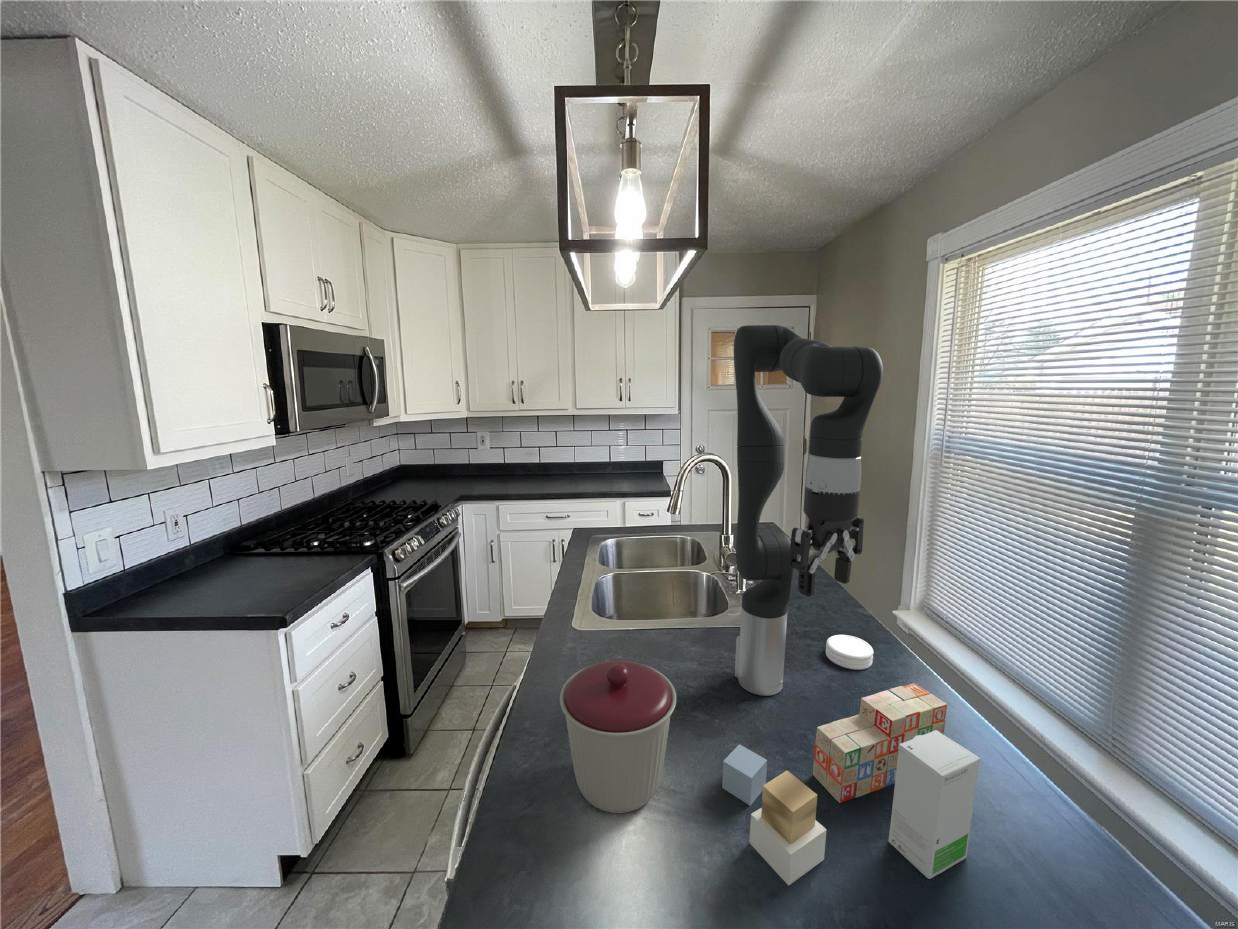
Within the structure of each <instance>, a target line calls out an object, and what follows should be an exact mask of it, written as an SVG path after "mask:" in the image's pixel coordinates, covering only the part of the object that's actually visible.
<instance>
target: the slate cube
mask: <svg viewBox="0 0 1238 929" xmlns="http://www.w3.org/2000/svg"><path fill="white" fill-rule="evenodd" d="M722 762H723V763H722V782H721V783H722V784H721V785H722V787H721V788H722V789H723V790H724V791H727V792H728V793H730V794H731V795H733V796H734V797H735V798H737V799H739V801H740V800H741V801H742V802H743V803H745V804H747V805H748V806H750V807H751V805H752V804H753V803H754V802H755V801H756V800H757V798H758V797H759V796H760V795H761V794H762V793H763V785H765V784H766V783H767V772H768V770H767V769H768V759H766V758H764V757H763V756H761V755H759V753H755V752H754V751H752V750H751V749H748V748H747V747H745V746H743V745H742V744H738V745H737V746H736V747H735V748H734V749H733V750H732V752H730V753H729V754H728V756H726V757H725V758H724V760H723V761H722Z"/></svg>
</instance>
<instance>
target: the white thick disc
mask: <svg viewBox="0 0 1238 929" xmlns="http://www.w3.org/2000/svg"><path fill="white" fill-rule="evenodd" d="M825 645H826V646H825V655H826V657H827V658H828V660H830V661H831V663H834V664H835V665H837V666H839V667H842V668H845V669H848V670H849V669H850V670H861V671H862V670H867V669H868V668H870V667H871V666H872V665H873V662H874V649H873V647H872V645H870V644H869V643H868V642H867V641H865V640H864V639H862V638H859V637H857V636H853V635H848V634H835V635H832V636H830V637H828V638H827V640H826V644H825Z"/></svg>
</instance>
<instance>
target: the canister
mask: <svg viewBox="0 0 1238 929" xmlns="http://www.w3.org/2000/svg"><path fill="white" fill-rule="evenodd" d="M559 705H560V708H561V710H562V713H563V714H564V716H565V720H566V728H567V732H568V733H567V735H568V742H569V747H570V754H571V761H572V766H573V772H574V775H575V781H576V784H577V787H578V789H579V791H580V792H581V794H582V796H583V797H584V799H585V800H586V801H588V803H589V804H590V805H592V806H593V807H594V808H597V809H599V810H600V811H605V812H606V813H612V814H616V813H617V814H622V813H626V814H627V813H629V812H634V811H635V810H638V809H640V808H641V807H644V806H645V805H646V804H647V803H649V801H651V799H652V798H653V797H654V796H655V794H656V792H657V791H658V788H659V785H660V783H661V781H662V775H663V769H664V763H665V757H666V752H667V744H668V735H669V730H670V724H671V723H670V721H671V716H672V714H673V713H674V711H675V709H676V708H675V707H676V705H677V693H676V689H675V687H674V685H673V684H672V682H671V681H670V680H669V679H668V677H667V676H665V675H664V674H663V673H661V672H660V671H658V669H656V668H653V667H652V666H649V665H646V664H642V663H639V662H636V661H630V660H622V659H621V660H607V661H601V662H597V663H593V664H591V665H589V666H586V667H584V668H582V669H580V670H578V671H577V672H575V673H574V674H572V675H571V676H570V677H569V678H568V679H567V680H566V681H565V683H564V684H563V686H562V688H561V690H560V695H559Z"/></svg>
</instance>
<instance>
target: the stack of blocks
mask: <svg viewBox="0 0 1238 929" xmlns="http://www.w3.org/2000/svg"><path fill="white" fill-rule="evenodd" d="M859 706H860V708H859V714H856V715H853V716H850V717H846V718H845V717H844V718H841V719H838V720H834V721H831V722H829V723H826V724H822V725H819V726H817V727H816V735H815V743H814V751H813V766H812V775H813V777H814V778H815V779H816V780H817V781H818V782H819V783H820V785H822V786H823V788H825V790H826V791H827V792H828V793H829V794H830V795H831V796H832V797H833V798H834V800H836V801H837V802H838V803H840V804H842V803H844V802H846V801H849V800H852V799H855V798H858V797H862V796H865V795H867V794H870V793H873V792H875V791H879V790H881V789H885V788H887V787H889V786H891V785H895V778H896V769H897V760H898V747H899V744H901V743H904V742H907V741H909V740H912V739H914V737H915V736H917V735H925V734H927V733H930V732H933V731H935V730H937V731H939V732H940V733H942V734H943V735H945V734H944V733H945V726H946V715H947V708H948V704H947V702H944V701H943V700H941V699H939V697H937V696H936V695H934V694H932V693H930V692H929V691H927V690H926V689H925V688H923V687H921V686H920V685H918V684H916V683H915V682H913V683H910V684H906V685H899V686H895V687H891V688H890V689H886V690H883V691H879V692H877V693H876V692H875V693H874V694H871V695H867V696H863V697H861V698H860V705H859Z"/></svg>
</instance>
